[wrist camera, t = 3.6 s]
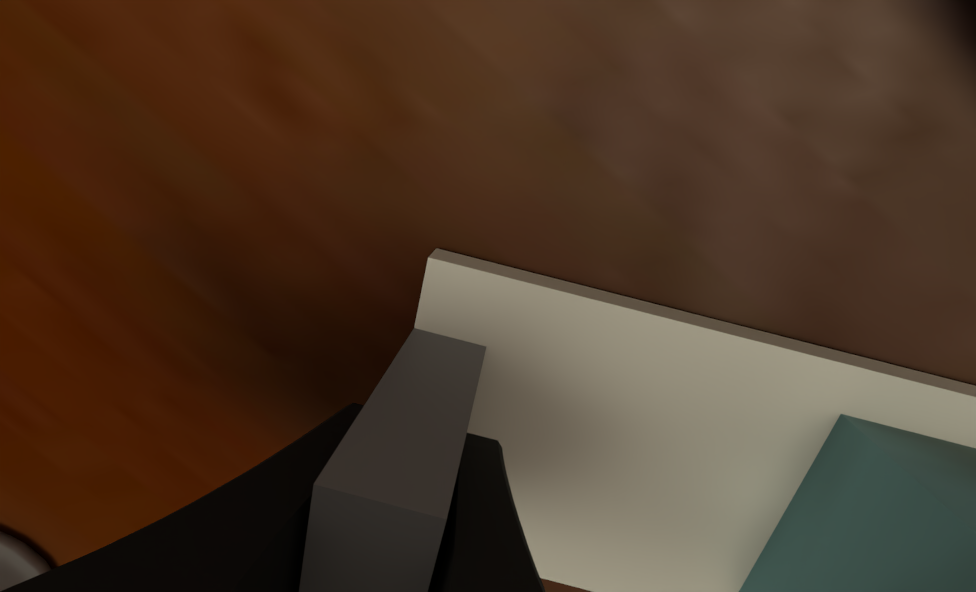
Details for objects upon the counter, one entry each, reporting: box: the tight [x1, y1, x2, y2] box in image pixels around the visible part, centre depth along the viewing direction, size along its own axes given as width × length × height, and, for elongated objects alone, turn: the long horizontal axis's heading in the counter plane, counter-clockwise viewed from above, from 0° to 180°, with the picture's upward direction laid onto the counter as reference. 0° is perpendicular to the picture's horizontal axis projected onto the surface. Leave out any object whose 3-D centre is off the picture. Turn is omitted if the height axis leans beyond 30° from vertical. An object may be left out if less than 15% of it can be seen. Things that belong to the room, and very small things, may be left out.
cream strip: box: [299, 248, 976, 592], centre depth 8 cm, size 14×7×5 cm, turn 77°
